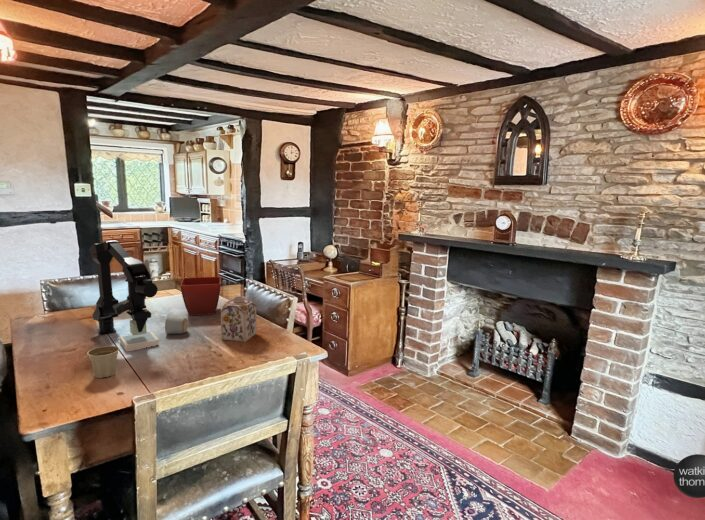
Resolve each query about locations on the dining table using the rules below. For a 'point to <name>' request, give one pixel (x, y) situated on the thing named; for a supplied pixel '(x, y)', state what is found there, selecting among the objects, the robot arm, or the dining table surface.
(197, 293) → the plant pot
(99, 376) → the flower pot
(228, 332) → the decorative jar
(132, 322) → the cube
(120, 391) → the dining table surface
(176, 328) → the ceramic mug
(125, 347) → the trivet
